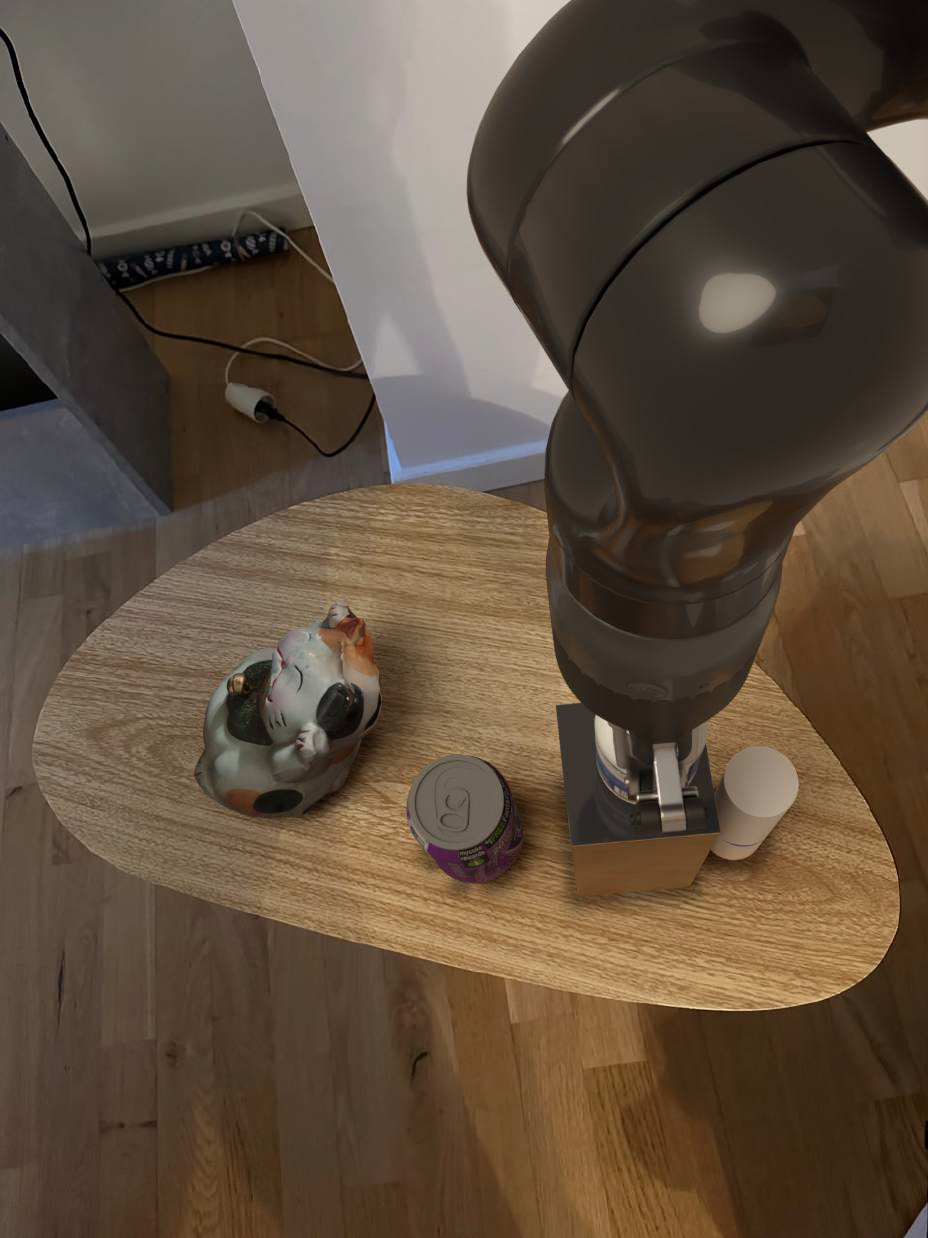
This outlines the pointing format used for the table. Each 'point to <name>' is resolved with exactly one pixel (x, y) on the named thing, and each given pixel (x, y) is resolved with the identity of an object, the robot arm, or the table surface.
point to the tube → (752, 799)
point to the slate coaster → (591, 800)
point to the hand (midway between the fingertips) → (641, 731)
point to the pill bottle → (616, 775)
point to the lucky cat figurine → (291, 719)
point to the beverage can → (465, 818)
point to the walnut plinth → (639, 865)
